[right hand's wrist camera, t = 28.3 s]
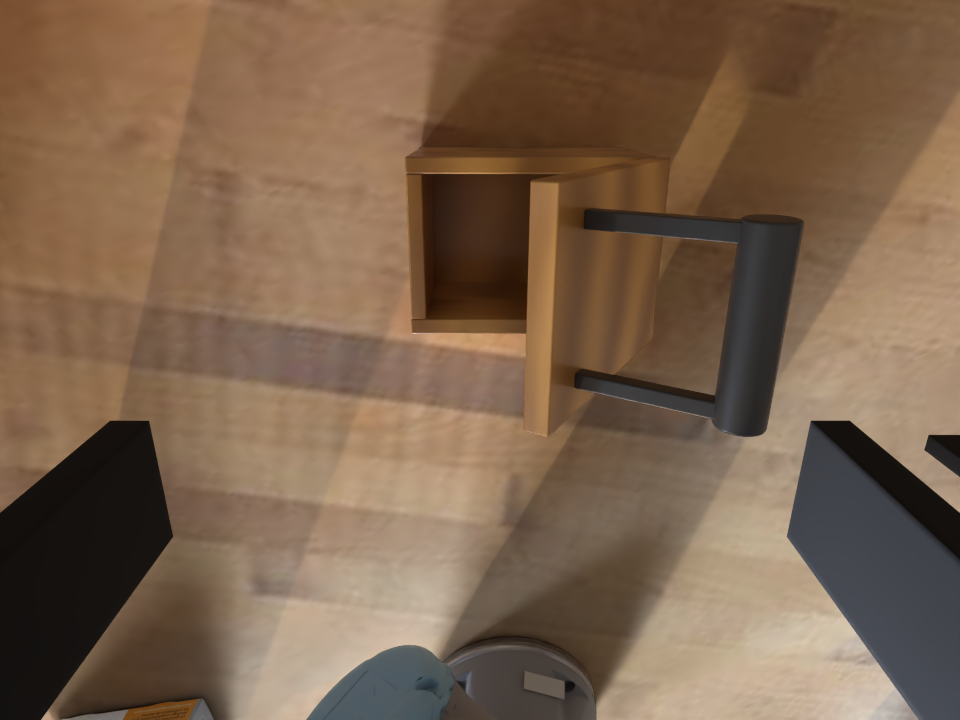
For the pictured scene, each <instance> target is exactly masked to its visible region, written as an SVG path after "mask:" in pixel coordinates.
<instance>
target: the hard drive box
mask: <svg viewBox="0 0 960 720" xmlns="http://www.w3.org/2000/svg"><path fill="white" fill-rule="evenodd" d="M61 720H214V719H213V717H212V715H211V713H210V711H209V709H208V707H207V705H206V703H205V701H204V699H202V698H200V699H193V700H187V701H180V702H165V703H159V704H156V705H152V706H147V707H141V708H134V709H128V710H122V711H114V712H107V713H101V714H88V715H82V716H77V717H73V718H67V719H61Z"/></svg>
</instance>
